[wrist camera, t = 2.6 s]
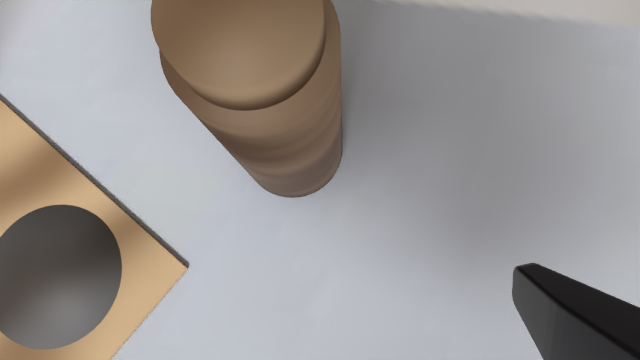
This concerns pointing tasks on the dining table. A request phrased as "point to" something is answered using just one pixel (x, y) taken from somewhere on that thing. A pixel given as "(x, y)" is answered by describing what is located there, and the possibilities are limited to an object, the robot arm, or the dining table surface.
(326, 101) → the pepper mill
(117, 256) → the board
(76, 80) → the dining table surface
